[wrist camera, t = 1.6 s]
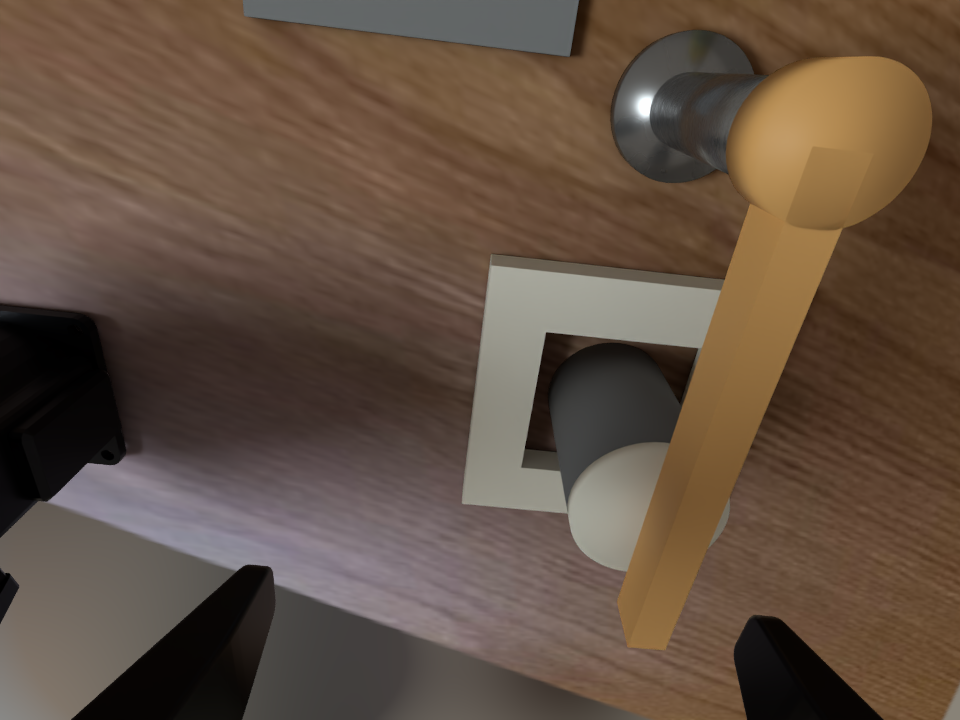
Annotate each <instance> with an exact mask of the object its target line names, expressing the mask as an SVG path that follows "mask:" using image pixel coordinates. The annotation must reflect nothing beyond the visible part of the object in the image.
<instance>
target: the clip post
mask: <svg viewBox="0 0 960 720" xmlns="http://www.w3.org/2000/svg"><path fill="white" fill-rule="evenodd" d="M768 76H769V75H754V72H753V69H752V66H751V64H750V62H749V60H748V58H747V57H746V55H745V53H744V52H743V51H742V50H741V49H740V48H739V46H737V45H736V44H735V43H734V42H733V41H731V40H730V39H728V38H726V37H725V36H723V35H720V34H718V33H715V32H710V31H705V30H692V31H683V32H678V33H674V34H670V35H667V36H665V37H662V38H660V39H658V40H656V41H655V42H653V43H651V44H650V45H649V46H647V47H646V48H644V49H643V50H642V51H641V52H640V53H639V54H638V55H637V56H636V57H635V58H634V59H633V60H632V61H631V62H630V64H629V65H628V66H627V68H626V69H625V71H624V72H623V74H622V76H621V78H620V80H619V82H618V84H617V87H616V89H615V92H614V96H613V99H612V105H611V117H610V121H611V130H612V135H613V139H614V141H615V144H616V147H617V148H618V150H619V152H620V154H621V155H622V157H623V158H624V159H625V161H626V162H627V163H628V164H630V165H631V166H632V167H633V168H634V169H636V170H637V171H638V172H640V173H641V174H643V175H645V176H646V177H648V178H650V179H653V180H656V181H660V182H666V183H681V182H687V181H692V180H695V179H698V178H700V177H703V176H705V175H707V174H709V173H711V172H712V171H714V170H715V169H718V170H720V171H723V172H725V173H727V174H729V173H728V170H727V164H726V145H727V139H728V134H729V130H730V128H731V125H732V122H733V120H734V118H735V116H736V114H737V112H738V110H739V108H740V107H741V105H742V103H743V102H744V100H745V99H746V98H747V97H748V95H749V94H750V93H751V92H752V91H753V89H754V88H755V87H756V86H757V85H758V84H759V83H761V82H762V81H763V80H764V79H765V78H767V77H768Z"/></svg>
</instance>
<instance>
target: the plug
mask: <svg viewBox="0 0 960 720" xmlns="http://www.w3.org/2000/svg"><path fill="white" fill-rule="evenodd" d="M548 403H549V409H550V415H551V420H552V426H553V432H554V438H555V443H556V449H557V455H558V461H559V466H560V472H561V478H562V484H563V489H564V495H565V501H566V506H567V512H568V518H569V524H570V529H571V533H572V536H573V538H574V540H575V542H576V544H577V545H578V547H579V548H580V549H581V550H582V552H583V553H585V554H586V555H587V556H588V557H589V558H591V559H592V560H594V561H595V562H597V563H599V564H601V565H603V566H606V567H609V568H612V569H616V570H620V571H626V572H627V570H628V567H629V564H630V561H631V558H632V555H633V552H634V549H635V546H636V543H637V540H638V537H639V534H640V531H641V528H642V525H643V522H644V519H645V516H646V514H647V511H648V508H649V505H650V502H651V499H652V496H653V493H654V490H655V487H656V484H657V481H658V478H659V475H660V472H661V469H662V466H663V463H664V460H665V457H666V454H667V451H668V448H669V445H670V442H671V439H672V436H673V433H674V430H675V427H676V424H677V421H678V418H679V415H680V412H681V409H682V408H681V406H680V404H679V402H678V400H677V399H676V397H675V395H674V393H673V391H672V390H671V388H670V386H669V384H668V383H667V381H666V379H665V377H664V375H663V374H662V372H661V370H660V368H659V367H658V365H657V363H656V362H655V361H654V360H653V359H652V358H651V357H650V356H649V355H648V354H647V353H645V352H643V351H642V350H640V349H638V348H636V347H633V346H630V345H627V344H621V343H602V344H597V345H593V346H589V347H586V348H584V349H582V350H580V351H578V352H576V353H575V354H573V355H572V356H570V357H569V358H568V359H566V360H565V361H564V362H563V363H562V364H561V365H560V367H559V368H558V369H557V371H556V372H555V374H554V375H553V378H552V380H551V382H550V386H549V390H548ZM729 512H730V499H728V502H727V504H726V506H725V509H724V511H723V514H722V516H721V518H720V521H719V523H718V525H717V528H716V530H715V533H714V535H713V537H712V540H711V542H710V544H709V547H710V546H711V545H712V544H713V543H714V542H715V541H716V540H717V538H718V537H719V536H720V534H721V533H722V531H723V529H724V527H725V525H726V523H727V520H728V517H729ZM709 547H708V548H709Z"/></svg>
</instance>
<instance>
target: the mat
mask: <svg viewBox="0 0 960 720" xmlns="http://www.w3.org/2000/svg"><path fill="white" fill-rule="evenodd" d="M578 3H579V0H243V7H244V16H247V17H253V18H261V19H269V20H277V21H285V22H293V23H301V24H309V25H317V26H325V27H333V28H341V29H349V30H357V31H365V32H373V33H381V34H389V35H397V36H406V37H414V38H422V39H430V40H438V41H446V42H454V43H462V44H470V45H478V46H486V47H494V48H502V49H510V50H518V51H526V52H534V53H542V54H550V55H558V56H566V57H570V52H571V46H572V40H573V33H574V27H575V21H576V15H577V9H578Z"/></svg>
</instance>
